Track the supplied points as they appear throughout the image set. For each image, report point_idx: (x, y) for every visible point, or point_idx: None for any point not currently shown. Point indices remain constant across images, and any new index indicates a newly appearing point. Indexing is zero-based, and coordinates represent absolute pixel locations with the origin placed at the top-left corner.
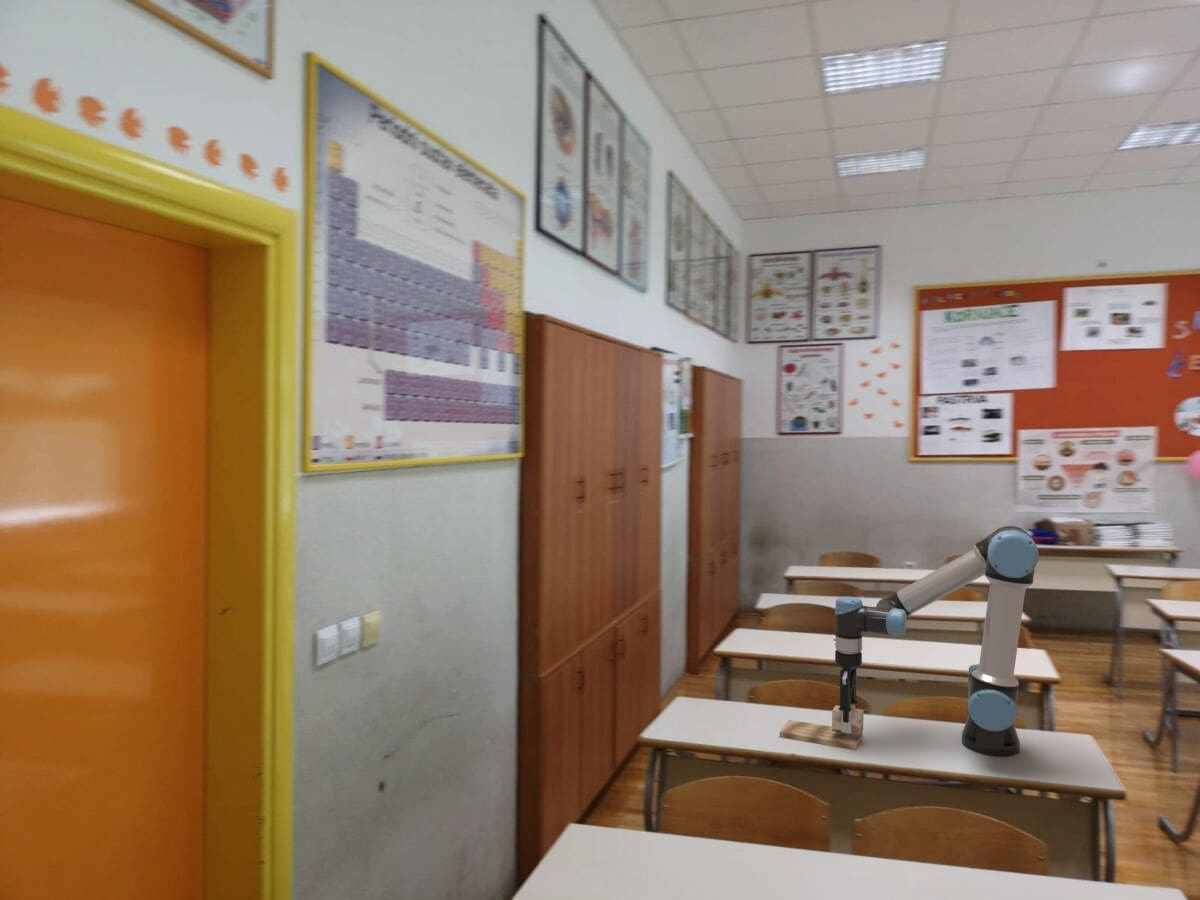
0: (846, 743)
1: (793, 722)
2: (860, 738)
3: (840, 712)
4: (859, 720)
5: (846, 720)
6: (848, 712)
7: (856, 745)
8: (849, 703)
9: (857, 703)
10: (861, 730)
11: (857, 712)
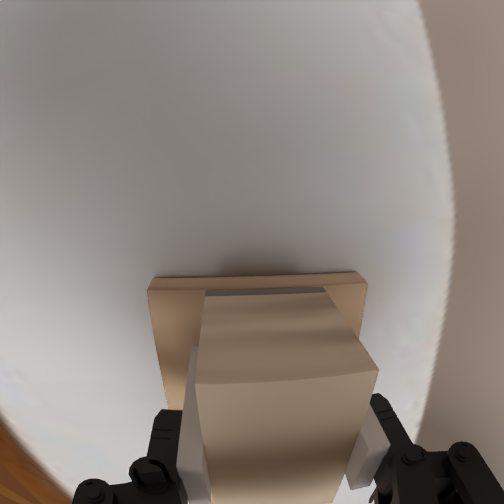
0: (360, 326)
1: (211, 496)
2: (217, 282)
3: (341, 474)
4: (359, 348)
5: (386, 410)
6: (393, 447)
7: (348, 279)
8: (435, 500)
9: (148, 458)
10: (282, 297)
11: (307, 409)
